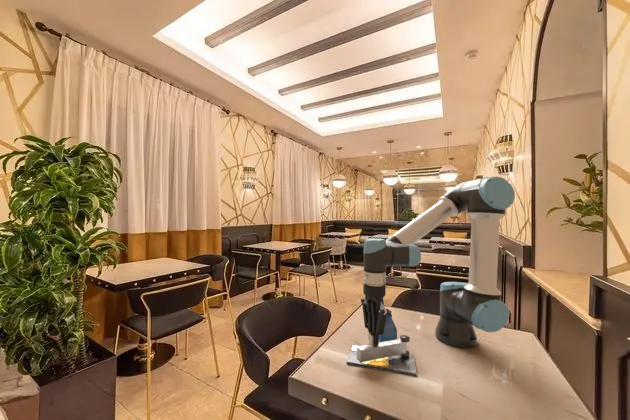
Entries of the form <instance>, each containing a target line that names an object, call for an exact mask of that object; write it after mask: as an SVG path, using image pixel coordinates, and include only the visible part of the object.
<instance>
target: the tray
mask: <svg viewBox="0 0 630 420" xmlns="http://www.w3.org/2000/svg"><path fill="white" fill-rule="evenodd" d="M358 346H359V345H354V344H351V345H350V349H349V352H348V356H347V359H346V365H351V366H356V367H362V368H368V369H374V370H379V371H384V372H391V373H397V374H403V375H407V376H414V377H417V375H418V374H417V367H416V362H415V357H414V354H413V353H410V351H409V350H407V349H406V353H405V354H401V355H396V356H391V357H386V358H381V359H376V360H371V361H367V362H362V363H361V362H360V361H359V360H358V359H357V347H358Z"/></svg>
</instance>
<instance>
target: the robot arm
mask: <svg viewBox="0 0 630 420" xmlns="http://www.w3.org/2000/svg"><path fill="white" fill-rule="evenodd" d="M515 198H516V195H515V190H514V188H513V185H512V184H511V183H509V181H508V180H507V179H506V178H504V177H501V176H486V177H482V178H477V179H473V180H467V181H464V182H461V183H458V184H457V185H456V186H454V187H453V188H451V189H450V190H448V191H447V192H446V193H444V194H443V195H442V196H440V197H439V198H438V201H437V203H435V204H434V205H433V206H431V207H430V208H428V209H426V210H425V211H424V212H422V213H421V214H420V215H418V216H417V217H416V218H415V219H412V221H410V222H409V223H408V224H406V225H405V226H403V227H402V228H401V229H399V230H398V231H397V232H394V234H392V235H391V236H389V237H388V238H387V239H385V238H376V237H375V238H372V237H370V238H366V239H365V240H364V243H363V252H362V253H363V285H362V288H363V289H362V290H363V291H362V292H363V295H364V298H361V299H360V303H361V306H362V312H363V323H364V328H365V329H367V332H368V343H369V344H374V345H377V344H379V343H380V341H379V335H383V334H384V328H385V323H386V318H387V315H388V313H389V310H390V309H388V308H386V307H385V306H384V305H385V302H384V297H385V296H386V293H387V292H386V287H387V285H386V283H387V274H386V273H387V267H416V266H419V264H420V262H421V260H422V253H421V249H420V247H419V246H418V245H416V243H417V242H418V241H419V240H420V239H421V240H422V238H424V237H425V236H426V235H428V234H430V232H432V231H433V230H435V229H436V228H437V227H438V226H440V225H441V224H443V223H444V222H446V220H448V219H449V218H451V217H456V216H458V215H459V214H461V213H463V212H466V211H467V213H466V214H467V215H468V216H469V217H470V219H471V224H470V225H471V228H470V245H469V246H470V247H469V248H470V249H469V266H468V282H460V281H444V282H442V283H440V286H439V287H440V288H439V319H438V322H437V324H436V327H435V329H434V330H435V332H434V333H435V338H436V339H437V340H439V341H440V342H442V343H444V344H446V345H449V346H453V347H456V348H457V347H458V348H461V349H462V348H463V349H470V348H475V347H476V346H478V336H477V334H476V331H475V328H477V329H479V330H481V331H484V332H486V333H496V332H498V331H501V330H502V329H503V328H505V326H506V325H507V324H508V322H509V319H510V309H509V307H508V306H507V304H506V303H505V302H504V301H502V292H501V290H500V289H499V288H498V287H497V282H498V262H499V247H500V246H499V244H500V221H501V219H502V218H505V216H506V209H508V208H510V207H511V206H512V205H513V204H514V202H515ZM474 327H475V328H474ZM369 344H368V345H369Z"/></svg>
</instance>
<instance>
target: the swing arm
mask: <svg viewBox="0 0 630 420" xmlns="http://www.w3.org/2000/svg"><path fill="white" fill-rule="evenodd" d="M410 340H411V339H410V336H409V335H405V334H401V335H400V336H399V339H398V338H397V340H391V341H386V342H380V341H379V344H377V345H374V344H363V345H357V346H358V347H357V359H358V360H359V361H360V362H361V363H362V362H367V361H371V360H376V359H381V358H386V357H391V356H396V355H401V354H405V353H406V350H407V343H410Z"/></svg>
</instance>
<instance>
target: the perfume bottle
mask: <svg viewBox="0 0 630 420" xmlns="http://www.w3.org/2000/svg"><path fill="white" fill-rule="evenodd" d="M397 339H398V328H397V327H396V324H395V322H394V320H393V314H392V310H390V309H389V313H388V315H387V318H386V323H385V328H384V334H383V335H379V343H380V342H386V341H391V340H397Z"/></svg>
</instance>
